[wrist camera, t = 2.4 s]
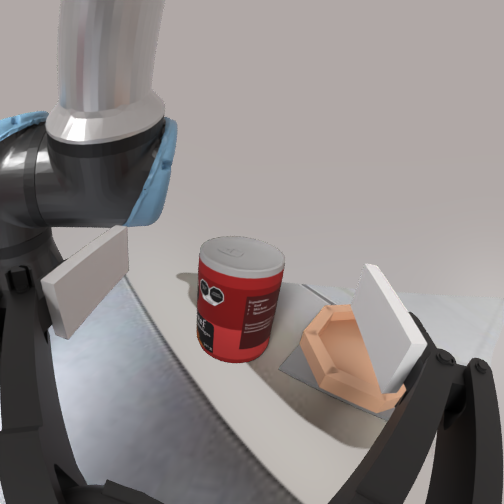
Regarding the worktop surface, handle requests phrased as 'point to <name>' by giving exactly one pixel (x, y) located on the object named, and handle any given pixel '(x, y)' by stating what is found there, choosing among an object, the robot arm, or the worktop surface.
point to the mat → (302, 371)
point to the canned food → (237, 296)
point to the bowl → (344, 359)
